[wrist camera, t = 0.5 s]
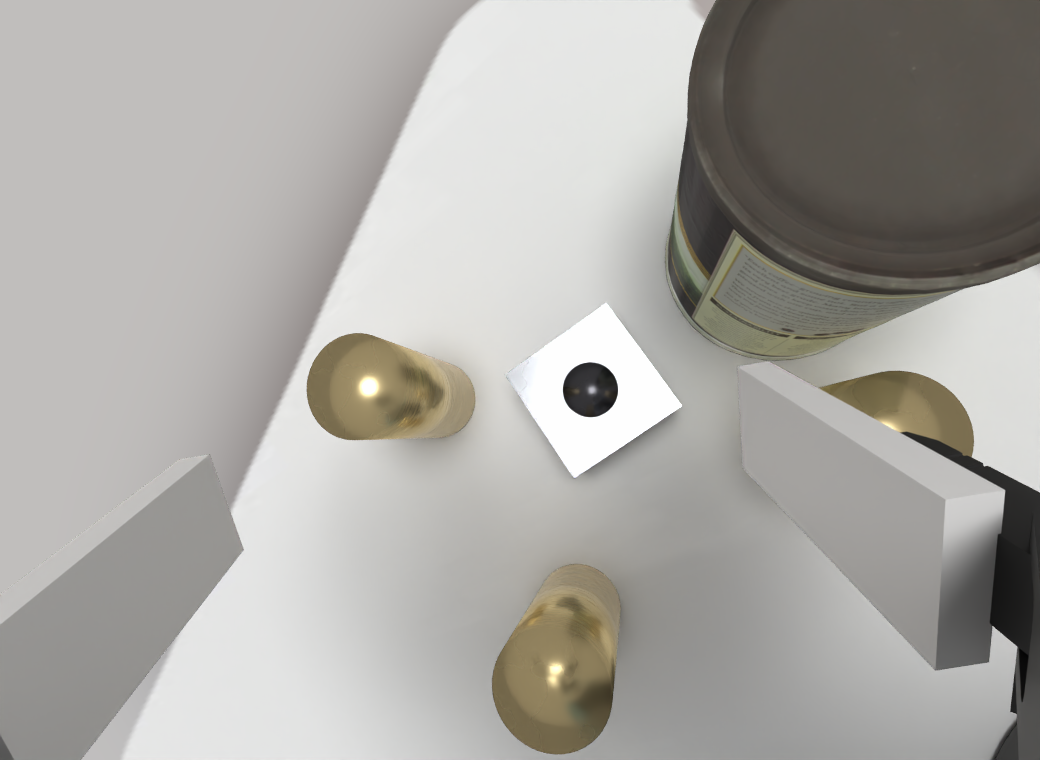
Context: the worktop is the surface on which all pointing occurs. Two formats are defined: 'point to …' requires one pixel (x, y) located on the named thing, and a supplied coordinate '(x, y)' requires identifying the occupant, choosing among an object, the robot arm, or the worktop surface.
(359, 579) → the worktop surface
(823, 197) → the coffee can
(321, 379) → the brass spacer
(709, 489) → the worktop surface
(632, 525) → the worktop surface
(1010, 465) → the worktop surface
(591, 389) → the grey square block
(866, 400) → the brass spacer
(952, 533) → the robot arm
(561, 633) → the brass spacer
